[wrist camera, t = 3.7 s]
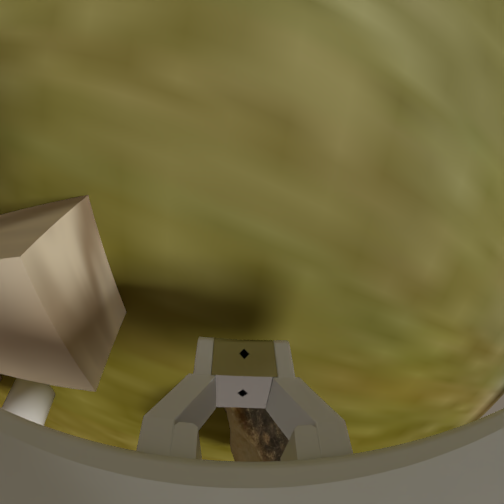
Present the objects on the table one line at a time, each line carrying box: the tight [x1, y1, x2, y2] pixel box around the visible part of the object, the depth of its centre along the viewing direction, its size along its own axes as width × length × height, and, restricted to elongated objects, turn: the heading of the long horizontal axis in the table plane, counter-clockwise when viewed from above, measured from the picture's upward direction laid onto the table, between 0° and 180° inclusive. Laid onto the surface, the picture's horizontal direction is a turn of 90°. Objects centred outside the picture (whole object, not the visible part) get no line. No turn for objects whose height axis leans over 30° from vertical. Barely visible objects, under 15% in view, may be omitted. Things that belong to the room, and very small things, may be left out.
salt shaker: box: [2, 378, 55, 426], centre depth 14 cm, size 4×4×8 cm
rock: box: [224, 407, 289, 462], centre depth 16 cm, size 11×9×10 cm
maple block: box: [0, 195, 126, 392], centre depth 10 cm, size 6×8×5 cm
